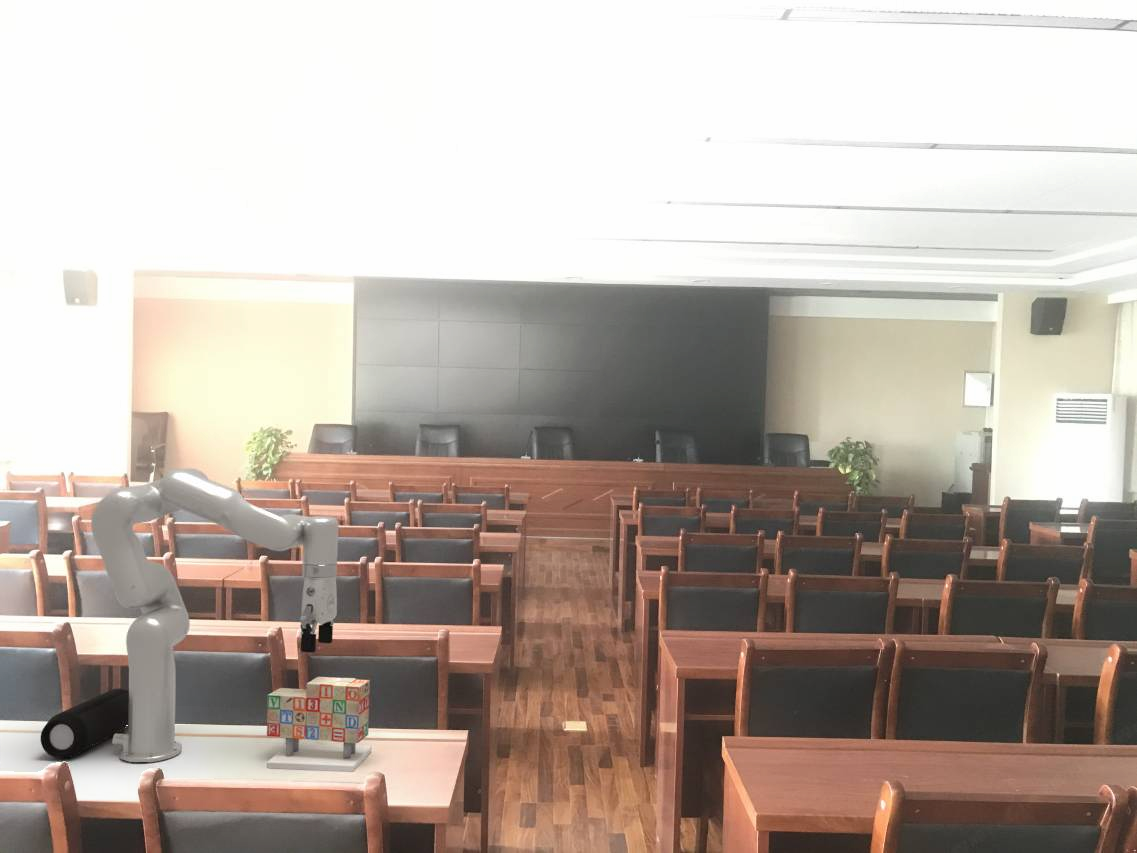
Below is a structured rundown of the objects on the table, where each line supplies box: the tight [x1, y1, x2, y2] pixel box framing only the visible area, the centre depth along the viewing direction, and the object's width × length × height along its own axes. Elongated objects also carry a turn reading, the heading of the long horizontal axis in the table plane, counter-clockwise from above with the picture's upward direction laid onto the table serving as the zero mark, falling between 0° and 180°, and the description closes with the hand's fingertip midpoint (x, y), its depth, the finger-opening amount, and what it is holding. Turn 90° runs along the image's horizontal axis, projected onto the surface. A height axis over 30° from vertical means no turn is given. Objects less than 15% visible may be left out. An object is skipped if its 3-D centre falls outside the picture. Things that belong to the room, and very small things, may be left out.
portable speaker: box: [40, 688, 129, 759], centre depth 213 cm, size 26×10×10 cm, turn 175°
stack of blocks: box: [266, 676, 371, 744], centre depth 203 cm, size 21×6×12 cm, turn 81°
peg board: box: [266, 738, 372, 773], centre depth 203 cm, size 19×13×5 cm
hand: (316, 647), depth 208 cm, fingers open, 9 cm apart
